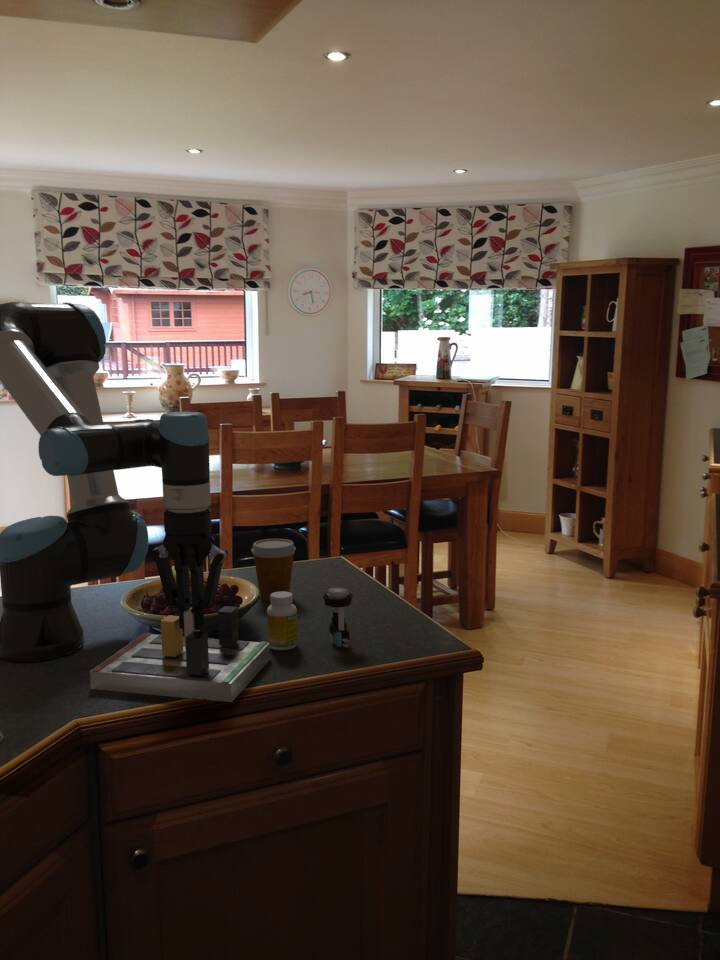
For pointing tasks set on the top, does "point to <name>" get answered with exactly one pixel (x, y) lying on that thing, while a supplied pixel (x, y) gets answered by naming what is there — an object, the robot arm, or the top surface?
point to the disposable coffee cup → (273, 565)
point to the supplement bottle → (282, 621)
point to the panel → (186, 664)
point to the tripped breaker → (171, 636)
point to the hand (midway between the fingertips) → (192, 647)
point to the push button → (338, 615)
